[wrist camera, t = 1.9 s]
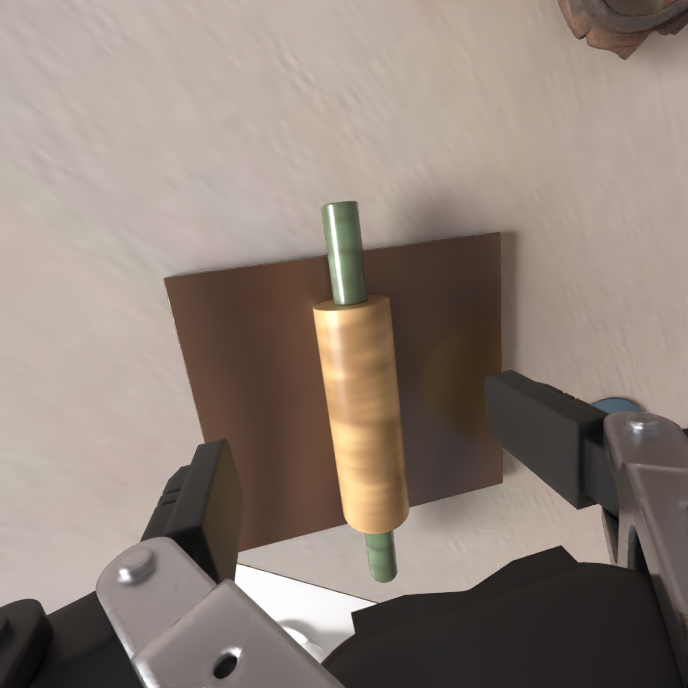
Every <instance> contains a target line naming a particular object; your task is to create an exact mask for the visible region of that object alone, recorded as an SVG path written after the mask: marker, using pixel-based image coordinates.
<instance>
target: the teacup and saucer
mask: <svg viewBox="0 0 688 688" xmlns="http://www.w3.org/2000/svg"><path fill="white" fill-rule="evenodd" d="M281 627H282V628H283V629H284V630H285V631H286V632H287V633H288V634H290V635H291V636H292V637H293V638H294V639H295V640H296V641H297V642H298V643H299V644H300V645H301V646H302V647H303V648H304V649H305V650H306V651H307V652H309V653H310V654H311V655H312V656H313V657H314V658H315V659H316V660H317V661H318V662H319V663H320V664H321V662H322V661H323V660H324V659H325V658H326V654H325V652H324V650H323V649H322V648H321V647H320V646H319V645H317V644H315V643H312V642H310V640H309V639H308V637H307V636H306V635H305V634H304V633H302V632H301V631H300V630H298V629H296V628H293V627H290V626H285V625H282V626H281Z"/></svg>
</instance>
